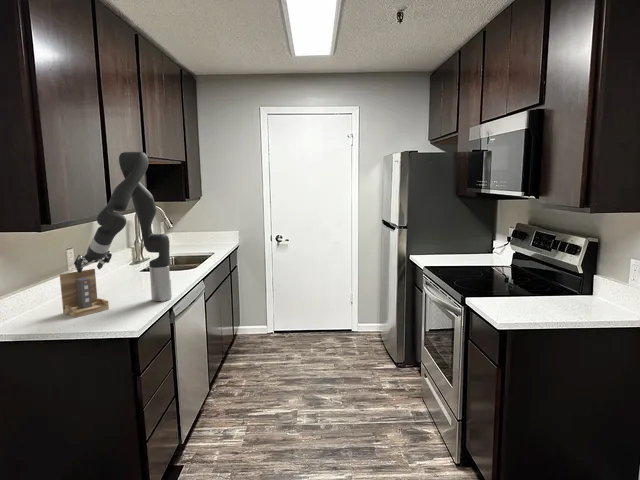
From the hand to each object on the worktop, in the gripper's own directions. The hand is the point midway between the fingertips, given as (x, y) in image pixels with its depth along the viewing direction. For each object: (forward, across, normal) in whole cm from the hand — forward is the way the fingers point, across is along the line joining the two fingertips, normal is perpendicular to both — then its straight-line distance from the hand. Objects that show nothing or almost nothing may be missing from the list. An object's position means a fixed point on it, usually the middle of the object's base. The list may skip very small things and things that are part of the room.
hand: (88, 269), depth 187 cm
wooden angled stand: (+18, 0, +11) cm, 21 cm away
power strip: (+17, 0, +8) cm, 19 cm away
